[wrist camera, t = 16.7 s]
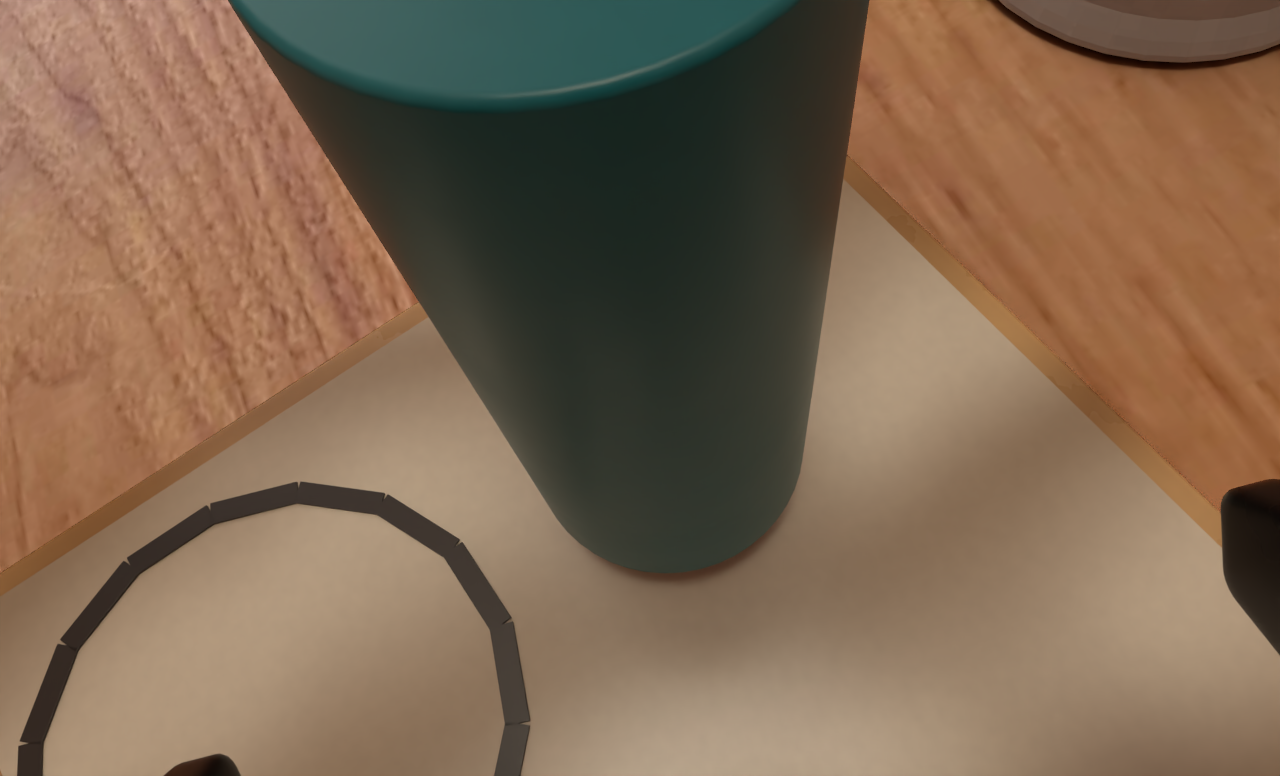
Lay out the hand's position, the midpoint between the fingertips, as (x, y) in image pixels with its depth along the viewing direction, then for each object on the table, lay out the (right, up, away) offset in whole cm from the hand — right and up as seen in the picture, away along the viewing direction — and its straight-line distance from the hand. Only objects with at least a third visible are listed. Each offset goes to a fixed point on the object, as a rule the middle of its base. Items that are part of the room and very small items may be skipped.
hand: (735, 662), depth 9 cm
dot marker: (0, +1, +8) cm, 8 cm away
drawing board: (-1, -2, +8) cm, 8 cm away
